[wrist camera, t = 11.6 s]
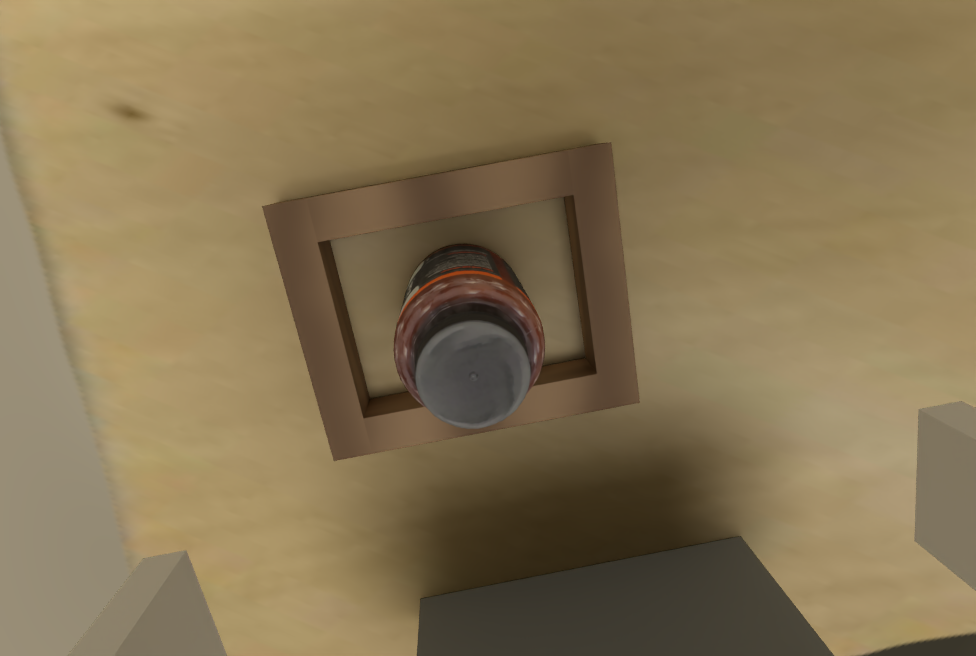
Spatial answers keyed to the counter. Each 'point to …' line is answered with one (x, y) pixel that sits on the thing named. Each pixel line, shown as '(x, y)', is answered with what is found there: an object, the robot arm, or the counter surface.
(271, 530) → the counter surface
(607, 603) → the grey l-shaped bracket
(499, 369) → the supplement bottle
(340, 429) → the wooden frame
